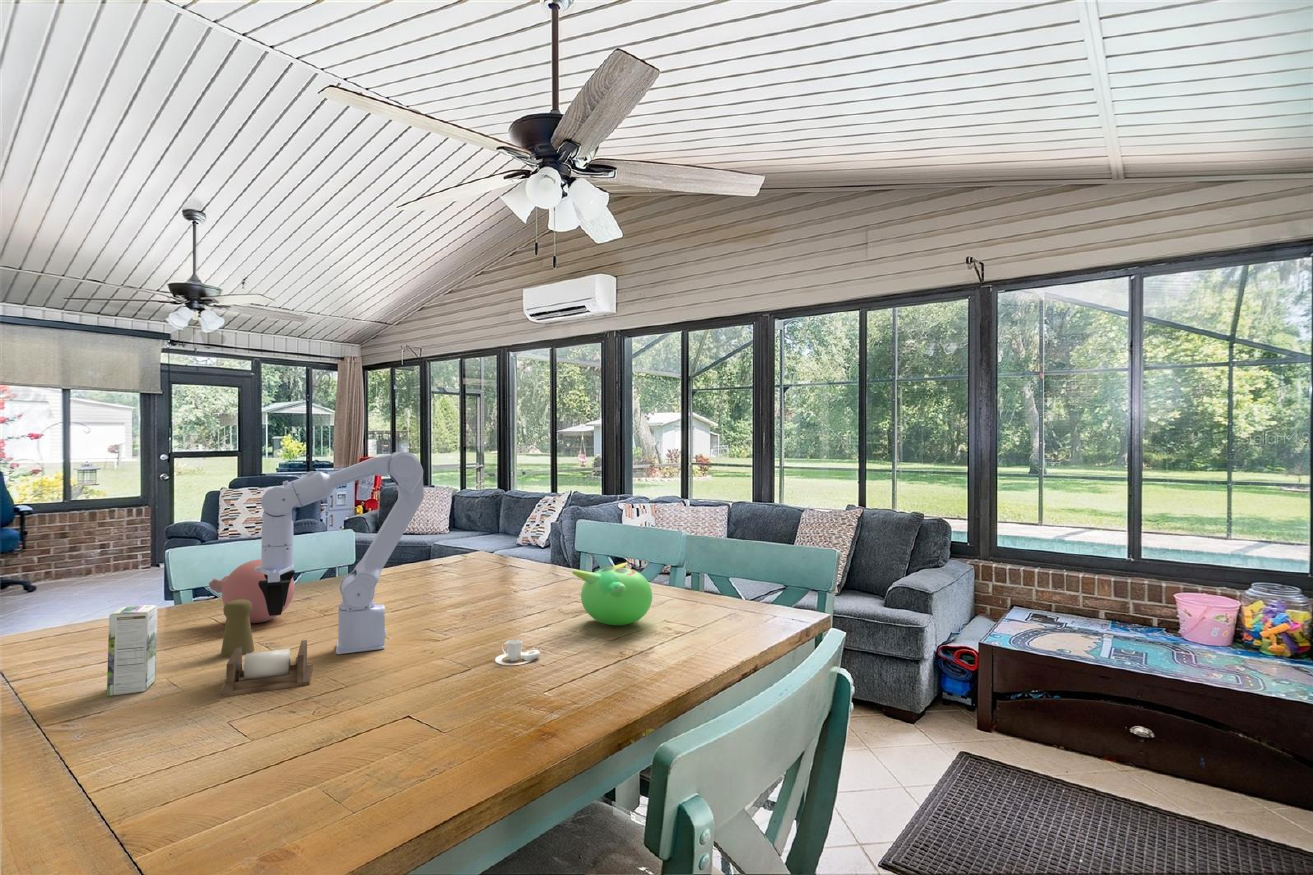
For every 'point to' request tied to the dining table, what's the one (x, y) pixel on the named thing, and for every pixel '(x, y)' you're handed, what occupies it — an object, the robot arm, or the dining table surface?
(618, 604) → the toy bird
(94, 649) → the dining table surface
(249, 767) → the dining table surface
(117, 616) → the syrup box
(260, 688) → the holder
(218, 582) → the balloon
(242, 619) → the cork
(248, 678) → the roll
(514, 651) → the teacup and saucer
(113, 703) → the dining table surface
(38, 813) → the dining table surface
